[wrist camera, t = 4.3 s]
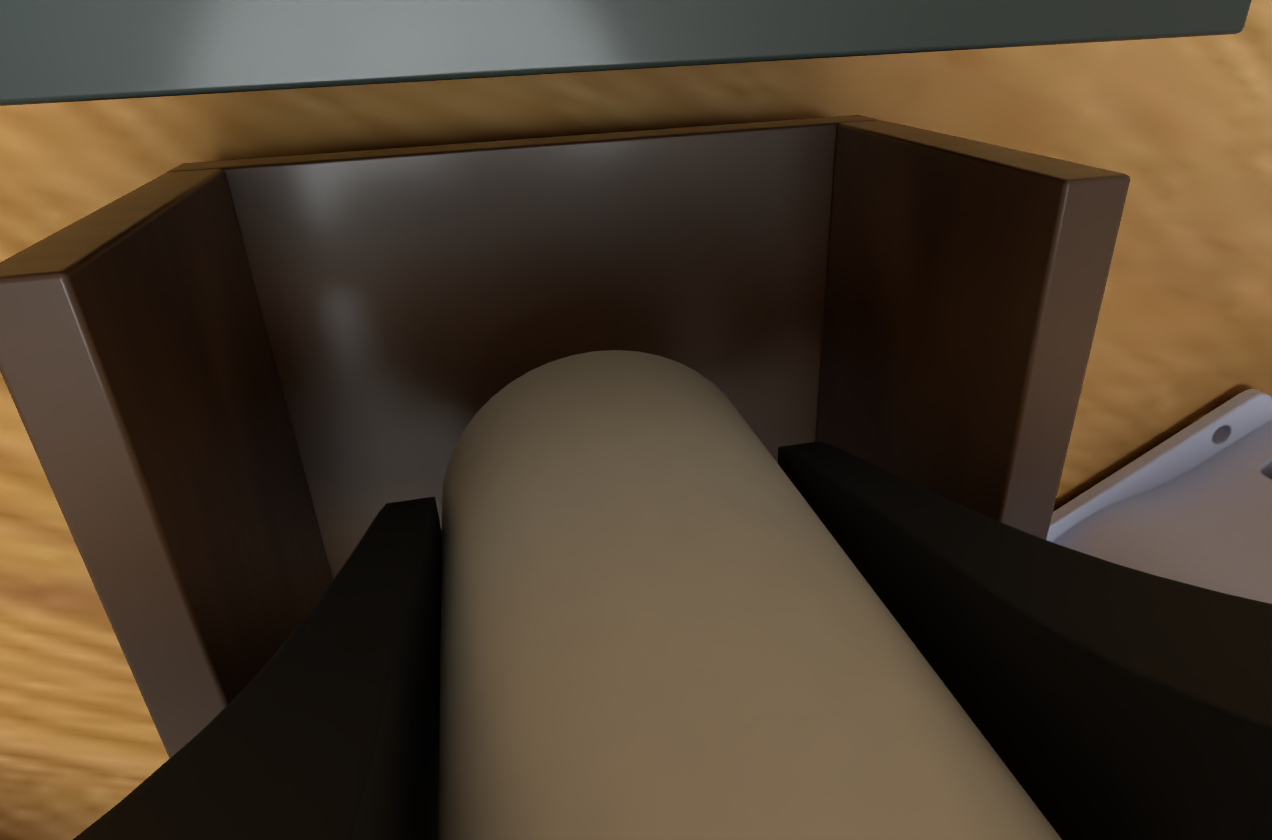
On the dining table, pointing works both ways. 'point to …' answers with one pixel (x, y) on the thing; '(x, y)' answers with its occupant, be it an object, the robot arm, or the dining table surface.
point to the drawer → (522, 284)
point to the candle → (677, 638)
